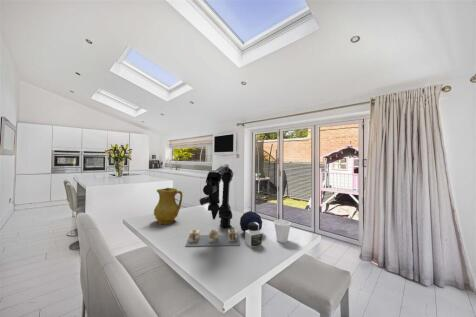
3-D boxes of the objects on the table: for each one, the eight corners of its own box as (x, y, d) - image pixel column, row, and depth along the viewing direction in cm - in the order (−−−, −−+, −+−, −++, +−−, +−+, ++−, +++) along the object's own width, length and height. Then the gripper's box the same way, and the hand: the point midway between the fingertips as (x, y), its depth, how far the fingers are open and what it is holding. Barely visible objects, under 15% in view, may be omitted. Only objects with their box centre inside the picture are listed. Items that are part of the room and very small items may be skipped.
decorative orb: (267, 223, 128) (254, 204, 131) (265, 231, 114) (250, 210, 116) (251, 234, 131) (238, 215, 134) (246, 243, 117) (232, 222, 119)
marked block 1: (199, 238, 114) (199, 229, 114) (198, 242, 109) (198, 233, 109) (190, 238, 113) (190, 229, 113) (189, 242, 108) (189, 233, 108)
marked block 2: (236, 237, 116) (236, 229, 116) (236, 241, 111) (237, 232, 111) (227, 237, 115) (228, 229, 115) (228, 241, 110) (228, 232, 110)
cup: (291, 238, 117) (291, 220, 117) (290, 245, 108) (290, 226, 108) (274, 236, 120) (275, 218, 120) (272, 242, 111) (272, 224, 111)
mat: (237, 235, 120) (237, 234, 120) (240, 245, 106) (240, 244, 106) (189, 236, 118) (189, 235, 118) (185, 246, 104) (185, 245, 104)
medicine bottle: (251, 248, 104) (251, 226, 104) (244, 242, 110) (245, 222, 110) (261, 245, 107) (262, 224, 107) (255, 240, 114) (255, 220, 113)
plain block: (217, 237, 115) (218, 229, 115) (217, 241, 110) (217, 232, 110) (209, 238, 114) (209, 229, 114) (208, 241, 109) (209, 233, 109)
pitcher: (161, 216, 153) (162, 185, 152) (183, 219, 150) (185, 188, 149) (148, 224, 136) (149, 190, 135) (172, 228, 133) (174, 192, 132)
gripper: (202, 189, 120) (201, 214, 121) (198, 195, 102) (198, 224, 102) (219, 189, 121) (219, 213, 122) (219, 195, 103) (219, 224, 103)
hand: (213, 218), depth 112 cm, fingers closed
